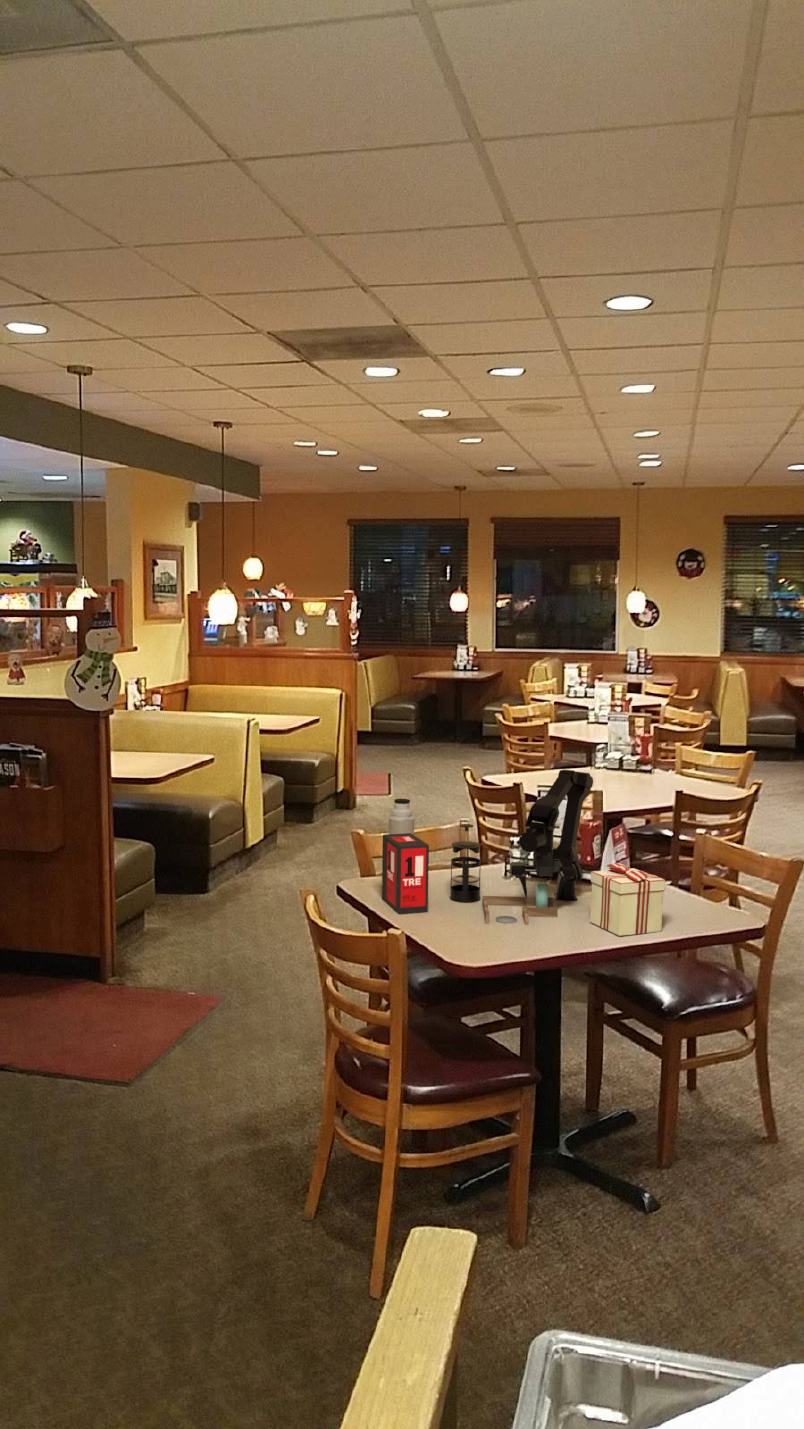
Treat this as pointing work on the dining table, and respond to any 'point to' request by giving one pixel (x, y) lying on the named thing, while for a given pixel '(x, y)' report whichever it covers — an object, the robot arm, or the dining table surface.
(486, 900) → the channel
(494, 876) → the dining table surface
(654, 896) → the gift box
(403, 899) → the cleaning product box
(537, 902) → the peg
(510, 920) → the pad
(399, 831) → the thermos bottle
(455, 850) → the french press
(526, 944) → the dining table surface
